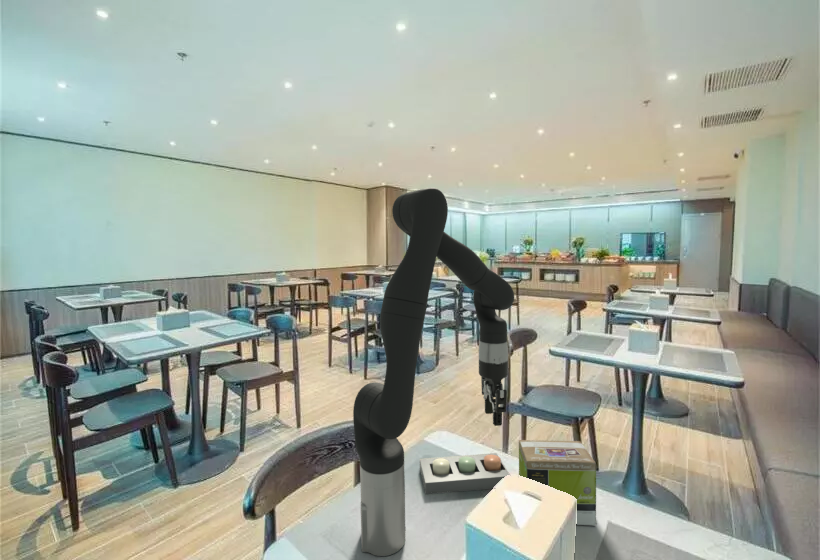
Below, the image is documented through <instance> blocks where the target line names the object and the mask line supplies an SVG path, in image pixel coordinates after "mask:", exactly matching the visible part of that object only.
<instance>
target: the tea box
mask: <svg viewBox="0 0 820 560" xmlns="http://www.w3.org/2000/svg"><path fill="white" fill-rule="evenodd" d="M519 475H520V476H523V477H526V478H529V479H532V480H535V481H537V482H540V483H542V484H545V485H548V486H550V487H553V488H555V489H557V490H560V491H563V492H566V493H568V494H570V495H572V496H574V497H575V498H576V499H577V525H579V526H596V525H597V463H596V461H595V460H594V459H593V457H592V456H591V454H590V453H589V452H588V450H587V449H586V447H585V446H584V445H583V443H582V441H581V440H543V439H542V440H541V439H539V440H538V439H537V440H536V439H533V440H532V439H531V440H530V439H529V440H526V439H519V440H518V476H519ZM577 525H576V526H577Z"/></svg>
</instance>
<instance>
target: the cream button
mask: <svg viewBox="0 0 820 560" xmlns="http://www.w3.org/2000/svg"><path fill="white" fill-rule="evenodd" d="M449 473H450V472H449V461H448V460H446V459H443V458H439V459H435V460H434V461H433V475H446V474H449Z"/></svg>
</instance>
